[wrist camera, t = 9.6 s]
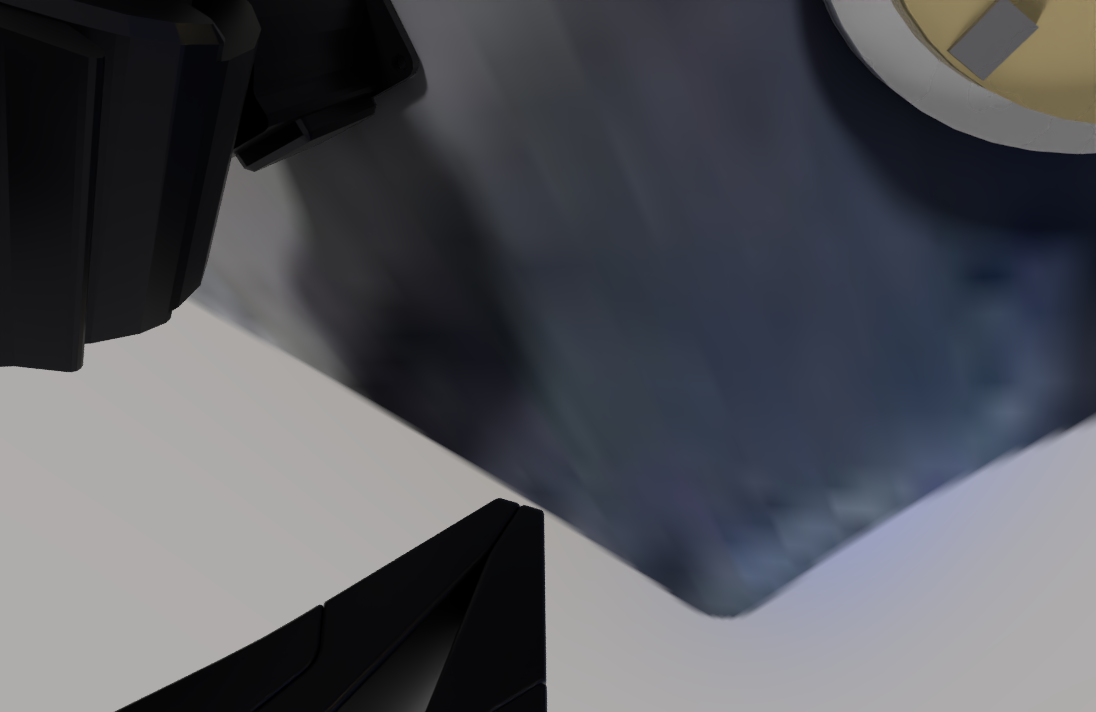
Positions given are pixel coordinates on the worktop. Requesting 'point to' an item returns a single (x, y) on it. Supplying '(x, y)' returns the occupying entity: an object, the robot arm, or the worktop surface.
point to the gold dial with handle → (1015, 48)
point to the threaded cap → (948, 84)
